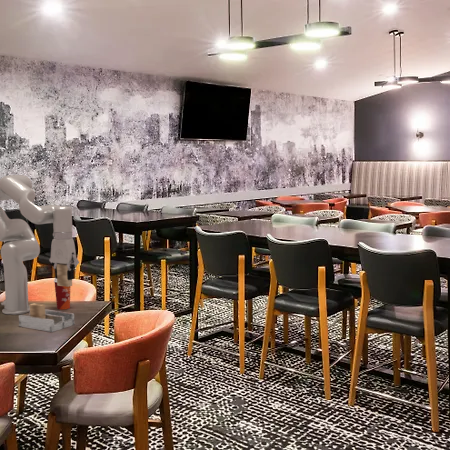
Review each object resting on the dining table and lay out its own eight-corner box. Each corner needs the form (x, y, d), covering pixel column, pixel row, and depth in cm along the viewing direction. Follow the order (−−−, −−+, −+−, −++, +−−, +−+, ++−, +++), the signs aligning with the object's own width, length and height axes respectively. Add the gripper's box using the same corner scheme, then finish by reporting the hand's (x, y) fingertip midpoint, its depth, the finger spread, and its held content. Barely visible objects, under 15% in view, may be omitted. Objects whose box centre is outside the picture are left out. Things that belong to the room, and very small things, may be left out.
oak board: (30, 326, 241) (29, 304, 241) (35, 324, 244) (34, 303, 243) (41, 328, 239) (40, 306, 238) (45, 326, 241) (45, 304, 240)
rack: (19, 326, 241) (18, 315, 241) (42, 319, 252) (41, 308, 252) (52, 332, 233) (51, 320, 232) (74, 324, 244) (74, 313, 243)
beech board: (57, 285, 251) (56, 264, 250) (61, 284, 253) (60, 263, 252) (68, 286, 248) (67, 265, 247) (72, 285, 250) (71, 264, 249)
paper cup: (67, 310, 267) (66, 279, 266) (51, 309, 268) (50, 279, 267) (75, 306, 275) (74, 276, 273) (59, 305, 276) (58, 275, 275)
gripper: (41, 235, 249) (42, 278, 251) (72, 238, 241) (74, 282, 243) (53, 234, 256) (55, 275, 258) (85, 236, 248) (86, 279, 250)
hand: (64, 278), depth 250 cm, fingers closed on beech board, 6 cm apart
